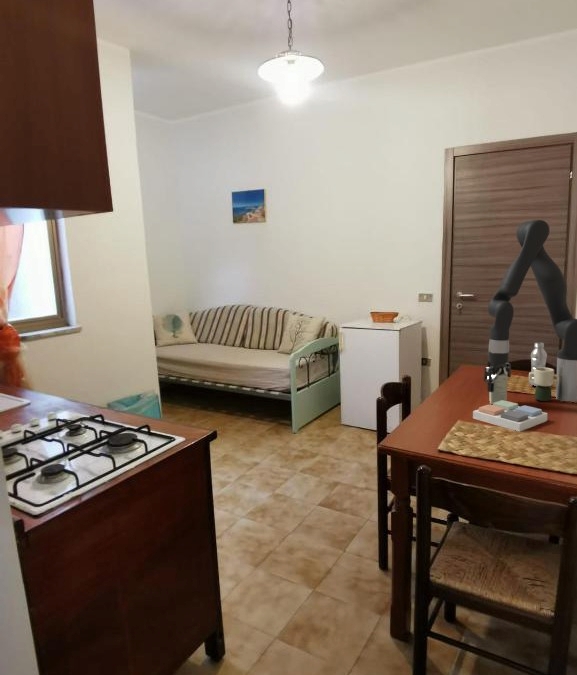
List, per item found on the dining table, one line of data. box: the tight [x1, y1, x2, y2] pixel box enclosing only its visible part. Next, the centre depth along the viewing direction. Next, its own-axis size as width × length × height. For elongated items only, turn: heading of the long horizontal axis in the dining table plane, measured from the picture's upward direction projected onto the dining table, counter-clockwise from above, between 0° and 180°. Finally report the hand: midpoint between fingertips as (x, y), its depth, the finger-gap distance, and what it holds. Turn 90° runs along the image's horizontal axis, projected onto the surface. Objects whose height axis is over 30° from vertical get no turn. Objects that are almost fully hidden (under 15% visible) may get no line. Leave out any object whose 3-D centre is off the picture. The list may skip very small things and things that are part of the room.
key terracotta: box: [478, 403, 505, 416], centre depth 176 cm, size 6×6×2 cm
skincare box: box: [488, 373, 508, 405], centre depth 193 cm, size 6×4×12 cm
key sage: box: [493, 400, 519, 411], centre depth 180 cm, size 6×6×2 cm
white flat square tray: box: [472, 405, 548, 433], centre depth 175 cm, size 17×18×3 cm
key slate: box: [515, 405, 543, 417], centre depth 173 cm, size 6×6×2 cm
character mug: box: [528, 366, 559, 402], centre depth 195 cm, size 11×7×13 cm, turn 57°
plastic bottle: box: [528, 341, 548, 386], centre depth 213 cm, size 6×7×20 cm
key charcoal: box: [501, 410, 528, 422], centre depth 168 cm, size 6×6×2 cm
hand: (497, 390), depth 193 cm, fingers open, 8 cm apart
